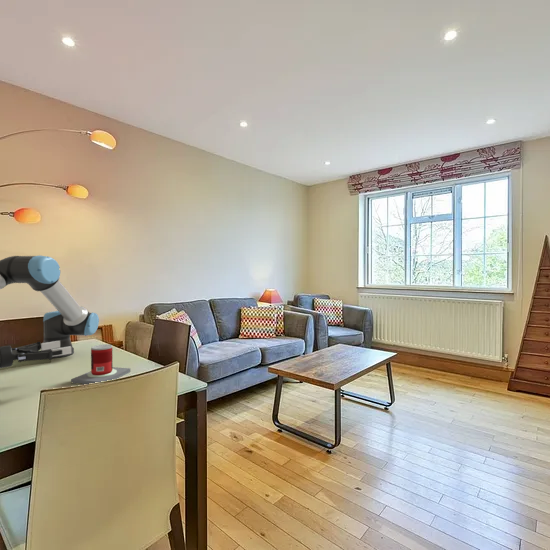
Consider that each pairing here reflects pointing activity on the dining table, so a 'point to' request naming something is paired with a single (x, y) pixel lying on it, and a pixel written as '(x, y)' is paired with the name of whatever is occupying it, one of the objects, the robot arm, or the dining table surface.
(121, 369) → the board
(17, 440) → the dining table surface
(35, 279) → the robot arm
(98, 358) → the canned food
